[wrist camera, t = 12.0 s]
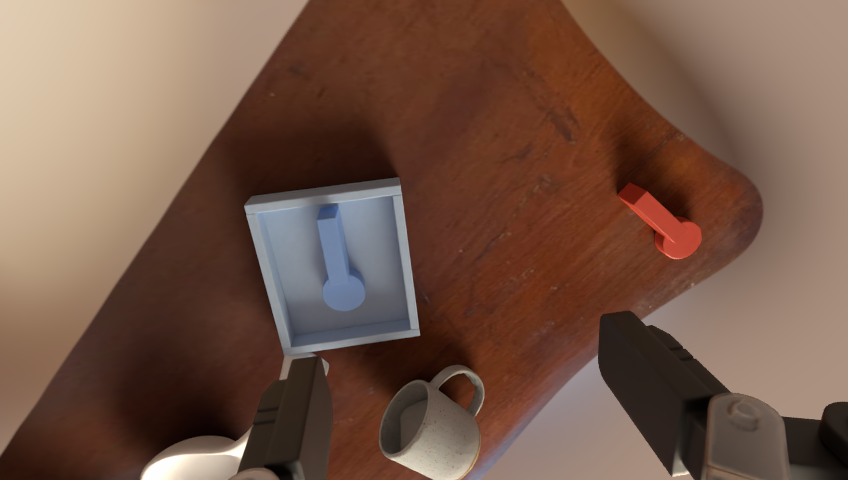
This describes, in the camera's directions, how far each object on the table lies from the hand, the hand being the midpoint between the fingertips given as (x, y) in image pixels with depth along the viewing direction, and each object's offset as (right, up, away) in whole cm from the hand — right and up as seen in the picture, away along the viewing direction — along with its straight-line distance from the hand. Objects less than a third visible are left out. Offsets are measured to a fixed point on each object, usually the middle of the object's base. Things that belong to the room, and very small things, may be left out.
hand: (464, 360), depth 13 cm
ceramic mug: (0, -13, +36) cm, 38 cm away
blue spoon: (-9, +2, +28) cm, 29 cm away
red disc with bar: (+21, +5, +31) cm, 37 cm away
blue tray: (-9, +1, +29) cm, 30 cm away
